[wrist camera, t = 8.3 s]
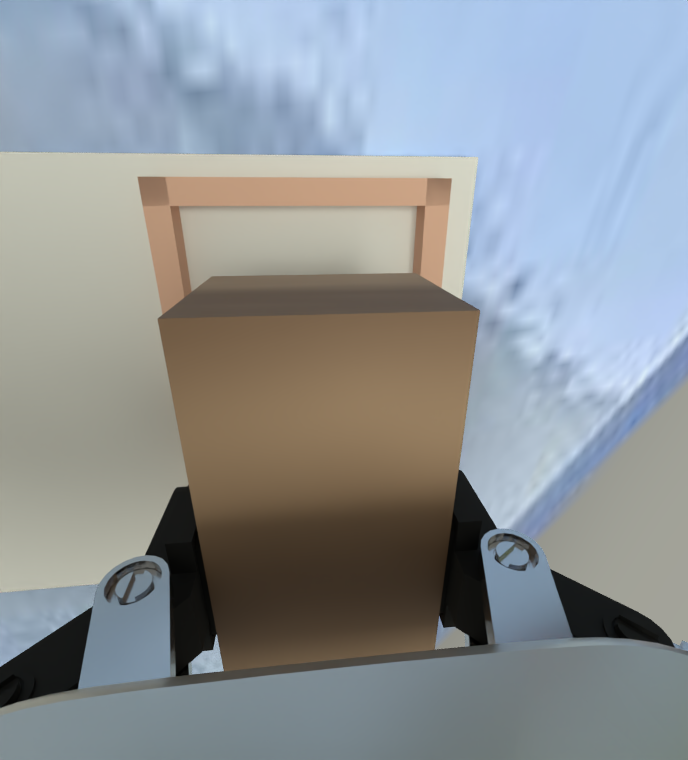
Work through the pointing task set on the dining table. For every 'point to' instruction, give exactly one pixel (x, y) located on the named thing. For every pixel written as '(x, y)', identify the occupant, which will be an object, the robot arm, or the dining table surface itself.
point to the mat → (151, 300)
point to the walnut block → (321, 457)
